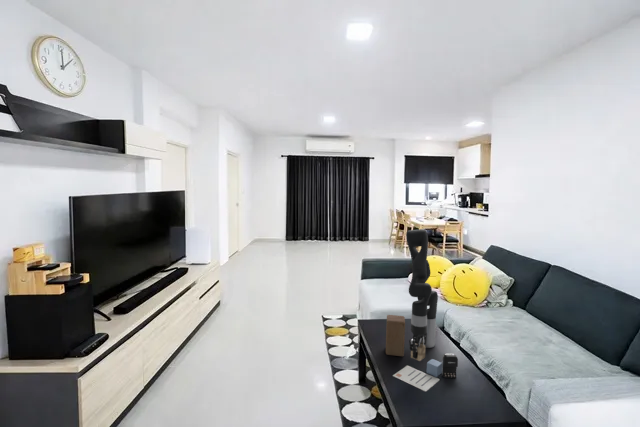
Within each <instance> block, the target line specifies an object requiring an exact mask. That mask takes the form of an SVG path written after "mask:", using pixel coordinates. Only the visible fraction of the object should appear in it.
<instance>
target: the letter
mask: <svg viewBox="0 0 640 427" xmlns="http://www.w3.org/2000/svg"><path fill="white" fill-rule="evenodd" d="M392 377H393V378H396V379H398V380H401V381H402V382H404V383H407V384H409V385H411V386H413V387H415V388H417V389H419V390H421V391H422V392H428V391H429V390H430V389H431V388H432V387H433V386H435V385H436V384H437V383H438V382H439V381H440V378H438V377H435V376H433V375H431V374H428V373H427V372H426V373H425V372H423V371H421V370H419V369H416V368H414V367H413V366H410V365H405V366H404V367H403V368H401V369H400V370H399V371H397V372H396V373H394V374H393V375H392Z"/></svg>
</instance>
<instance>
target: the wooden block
mask: <svg viewBox="0 0 640 427" xmlns="http://www.w3.org/2000/svg"><path fill="white" fill-rule="evenodd" d="M405 335H406V318H405V316H404V315H395V314H387V315H386V333H385V355H388V356H397V357H404V356H405Z"/></svg>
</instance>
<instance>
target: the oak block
mask: <svg viewBox="0 0 640 427" xmlns="http://www.w3.org/2000/svg"><path fill="white" fill-rule="evenodd" d="M415 344H416V343H415ZM416 345H418V344H416ZM410 358H411V359H414V360H416V361H418V362H421V361H422V360H423V359H425V358H426V347H425V345H422V344H420V347H418V357H417V359H415V358H413V351H411V350H410Z"/></svg>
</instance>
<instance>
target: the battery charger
mask: <svg viewBox="0 0 640 427" xmlns="http://www.w3.org/2000/svg"><path fill="white" fill-rule="evenodd" d="M441 362H442V373H441V375H442V377H443V378H445V379H456V378H457V368H458V366H459V359H458V356H457V355H456V354H455V353H444V354H443V355H442V360H441Z"/></svg>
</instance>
